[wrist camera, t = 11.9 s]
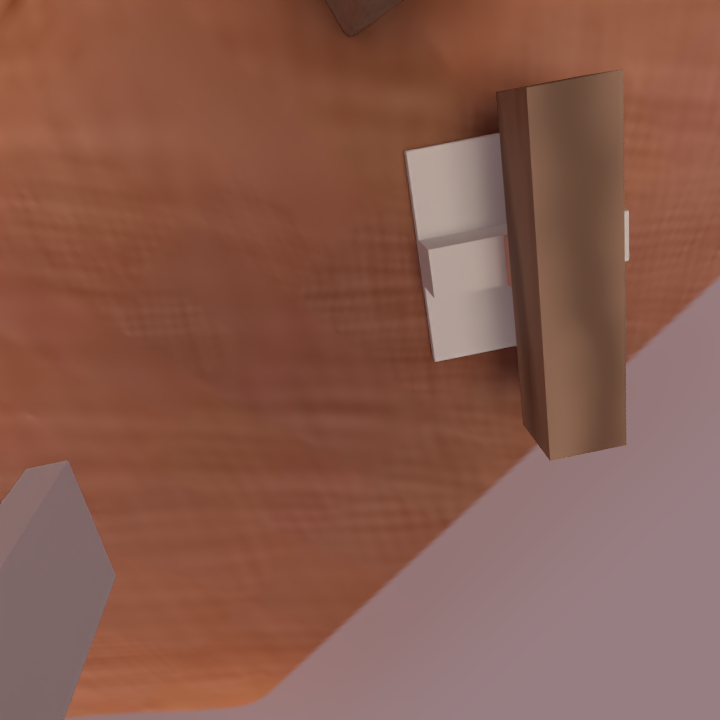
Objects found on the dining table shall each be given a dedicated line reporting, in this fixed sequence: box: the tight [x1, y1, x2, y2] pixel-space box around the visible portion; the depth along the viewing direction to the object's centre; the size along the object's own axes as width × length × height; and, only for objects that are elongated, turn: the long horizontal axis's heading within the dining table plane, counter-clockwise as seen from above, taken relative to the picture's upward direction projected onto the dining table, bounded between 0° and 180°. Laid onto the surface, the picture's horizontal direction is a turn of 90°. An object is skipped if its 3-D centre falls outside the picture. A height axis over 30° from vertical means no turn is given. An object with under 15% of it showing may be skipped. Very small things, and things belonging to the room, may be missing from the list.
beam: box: [496, 69, 626, 460], centre depth 37 cm, size 5×22×5 cm, turn 10°
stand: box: [404, 133, 629, 362], centre depth 43 cm, size 14×16×8 cm
